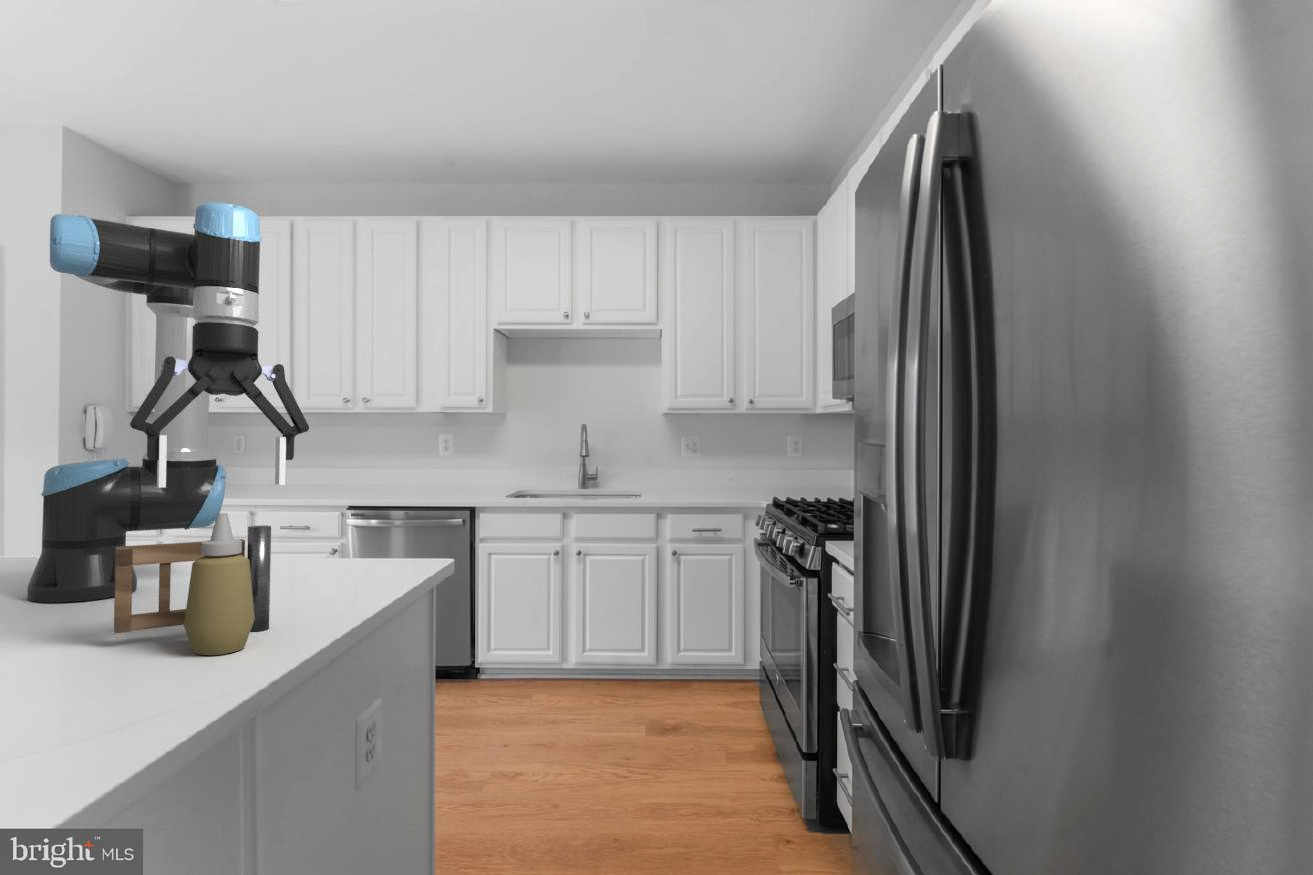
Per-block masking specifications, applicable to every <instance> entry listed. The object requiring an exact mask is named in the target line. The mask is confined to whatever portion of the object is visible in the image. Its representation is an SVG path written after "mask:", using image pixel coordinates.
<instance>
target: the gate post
mask: <svg viewBox="0 0 1313 875" xmlns="http://www.w3.org/2000/svg"><path fill="white" fill-rule="evenodd" d="M271 550H272V526H271V525H266V524H265V525H264V524H263V525H250V526H248V527H247V556H246V558H248V559H249V561H250V572H251V583H252V594H253V605H254V616H255V620H254V623H253V625H252V628H251V631H250V633H256V632H264V631H268V630H269V629H270V604H271V603H270V602H271V601H270V600H271V599H270V598H271V559H272V558H271V555H272V554H271Z"/></svg>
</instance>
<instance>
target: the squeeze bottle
mask: <svg viewBox="0 0 1313 875" xmlns="http://www.w3.org/2000/svg"><path fill="white" fill-rule="evenodd" d="M230 522H231V521H230V518H229V514H228V513H227V512H226V513H225V512H223V513H222V512H220V513H219V514H217V517H216V521H215V522H214V523H213V524H214V526H213V529H212V532H211V536H210V539H209V540H204V541H201V542H202V543H201V555H204V557H201V558H198V559H197V560H196V561H193V562H192V564H191V570H190V571H191V572H190V579H189V587H188V593H187V601H186V607H185V609H186V614H185V621H184V625H183V628H184V631H185V635H186V636H187V640H188V642H189V644H190V647H191V649H192V652H193V654H196V655H201V656H220V655H226V654H230V653H234V652H237V651H241V650H242V649H244V648H245V646H246V643H247V642H248V639H249V635H250V633H251V632H250V631H251V628H252V625H253V623H254V620H255V616H254V605H253V594H252V583H251V572H250V561H249V559H248V558H247V556H246V555H245V556H242V555H239V553H241V552H242V541H241V540H237V539H236V538H235V539H234V537H233V532H232V527H231V523H230Z"/></svg>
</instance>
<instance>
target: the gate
mask: <svg viewBox="0 0 1313 875" xmlns="http://www.w3.org/2000/svg"><path fill="white" fill-rule="evenodd" d="M236 540H241V541H242V552H241V553H239V555H242V556H245V557H246V540H245V539H243V538H241V539H239V538H238V539H236ZM202 542H203V541H193V542H192V541H189V542H175V543H174V542H173V543H172V542H171V543H158V544H157V543H156V544H155V543H154V544H153V543H152V544H142V545H141V544H139V545H126V546H120V547H116V554H115V597H114V602H113V603H114V611H113V612H114V613H113V614H114V615H113V617H114V618H113V633H114V634H116V635H117V634H124V633H131V632H133V631H142V630H151V629H152V630H153V629H159V628H168V627H169V628H170V627H176V626H184V621H185V614H186V608H183V609H182V608H181V609H174V610H173V609H171V574H172V573H171V570H172V569H171V568H172V563H185V562H195V561H196V560H197V559H198V558H201V557H204V555H201V543H202ZM155 564H156V565H157V564H158V565H159V567H158V568H159V573H158V574H159V575H158V576H159V577H158V578H159V579H158V611H154V612H145V613H136V614H135V613H134V614H132V607H133V606H132V604H133V601H132V600H133V592H132V567H133V568H134V566H143V565H146V566H147V565H155Z"/></svg>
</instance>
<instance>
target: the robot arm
mask: <svg viewBox="0 0 1313 875" xmlns="http://www.w3.org/2000/svg"><path fill="white" fill-rule="evenodd" d="M192 226H193V227H192V228H193V229H194V234H192V233H185V232H178V231H172V230H167V229H166V230H165V229H160V228H159V229H158V228H154V227H153V228H152V227H145V226H140V225H133V224H129V223H124V222H123V223H122V222H117V221H110V220H104V219H98V218H97V219H96V218H91V217H89V216H86V215H85V216H84V215H70V214H64V213H63V214H61V213H60V214H55V215H53V216H52V217H51V219H50V226H49V265H50V267H51V269H52V270H53V271H54V272H58V273H61V274H66V275H67V274H68V275H74V276H76V277H77V278H79V279H81V280H83V281H85V282H88V283H91V284H93V285H96V286H100V287H103V288H106V289H108V290H113V291H118V292H123V293H129V294H137V295H143V296H144V295H145V297H146V307H147V308H148V309H149V310H150V311H151V312H152V313H153V314H154V315H155V318H156V319H155V350H154V353H155V355H154V356H155V357H154V358H155V359H154V361H155V362H154V385H153V386H152V388H151V389H150V391H149V392H148V394H147V396H146V397H145V399H144V401H143V402H142V403H141V405H140V406H139V408H138V409H137V411H136V413H135V414H134V416H133V418H132V419H131V420H130V422H129V427H131V428H132V429H133V430H137V431H140V432H141V433H142V432H143V433H144V434H146V453H145V454H143V455H142V461H141V462H142V465H141V466H130V465H129V462H128V460H127V458H113V459H112V458H111V459H102V460H99V459H98V460H92V461H83V462H74V463H67V464H61V465H59V464H58V465H55V466H53V467H50V468H49V469H48V470H46V472H45V474H44V478H43V486H42V487H43V488H42V489H43V490H42V492H41V494H40V495H41V497H43V501H42V502H43V503H42V504H43V505H42V526H41V527H42V529H41V530H42V531H41V533H42V534H41V553H40V555H39V558H38V561H37V563H36V565H35V568H34V570H33V572H32V574H31V577H30V579H29V582H28V585H27V589H26V590H27V593H26V594H27V595H26V596H27V600H28V601H31V602H34V603H35V602H36V603H74V602H76V603H77V602H87V601H95V600H103V599H110V598H115V554H116V547H120V546H127V545H126V544H127V543H126V542H127V540H126V539H127V532H140V531H141V532H142V531H157V530H159V531H160V530H173V529H174V530H176V529H177V530H178V529H184V530H190V529H197V528H206V527H210V526H211V525H213V524H215V521H216V517H217V514H220V513H221V510H222V506H223V502H224V499H225V493H226V492H225V491H226V486H227V485H226V477H227V471H226V469H225V467H224V466H222V465H220V464H217V456H216V455H215V454H214V453H213V452H212V451H211V450H210V449H209V445H208V442H209V439H208V438H209V409H210V404H209V403H210V395H212V396H218V395H219V396H220V395H226V396H227V395H228V396H231V397H233V396H235V397H237V396H241V395H243V394H244V395H245V396H246V397H247V398H248V399H249V400H250V401H251V402H252V403H253V404H254V405H255V406H256V407H257V408H258V409H259V410H260V411H261V413H262V414H263V415H264V416H265V417H266V418H267V419H268V420H269V421H270V422H271V424H272V425H273V426H274V427H275V428H276V429H277V431H278V432H280V434H281V435H282V436H276V437H275V458H274V459H275V460H274V461H275V462H274V463H275V465H274V466H275V467H274V470H275V471H274V472H275V473H274V474H275V475H274V484H275V485H278V486H286V464H287V463H286V461H293V459H294V457H295V456H294V455H295V438H296V436H298V435H299V434H303V433H307V432H309V430H310V425H309V423H308V422H307V419H306V417H305V416H304V414H303V411H302V410H301V408H300V406H299V405H298V404H299V403H297V400H296V399H295V398H296V397H295V396H294V395H293V392H292V390H291V388H290V387H289V385H288V383H287V381H286V372H285V367H284V365H283V364H280V363H278V364H275V365H262V364H260V361H259V331H258V330H257V328H256V327H254V326H257V324H259V318H260V317H259V313H260V312H259V309H260V308H259V307H260V304H259V303H260V302H259V300H260V297H259V296H260V290H259V289H260V288H259V287H260V256H261V241H262V238H263V237H262V236H261V222H260V218H259V216H258V214H257V213H256V212H255V211H254V210H252V209H249V208H247V207H244V206H240V205H237V204H231V203H226V202H225V203H224V202H206V203H205V202H204V203H202V204H200V205H198V206H197V207H196V209H195V215H194V223H193V224H192ZM261 375H264V376H265V378H266V380H267V381H269V382H272V386H273V388H274V390H275V391H276V393H277V396H278V397H279V399H280V401H281V404H282V405H283V407H284V409H285V412H286V413H287V414H288V417H289V418H290V421H291V422H292V425H293V426H292V425H291V424H290V423H289V421H287V419H286V418H285V417H284V416H282V414H281V413H280V412H279V411H278V410H277V409H276V408H275V406H274V405H273V404H272V403H271V402H270V401H269V399H268V398H267V397H266V396H265V395H264V394H263V392H262V390H260V388H259V387H258V386H257V385H256V384H255V382H256V381H257V380H258V378H260V376H261ZM152 412H153V421H152V422H147V420H148V418H149V417H150V415H151V413H152ZM131 428H130V429H131ZM137 586H138V578H137V574H136V571H135V569H134V566H133V567H132V593H133V592H136V590H137V588H138V587H137Z"/></svg>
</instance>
